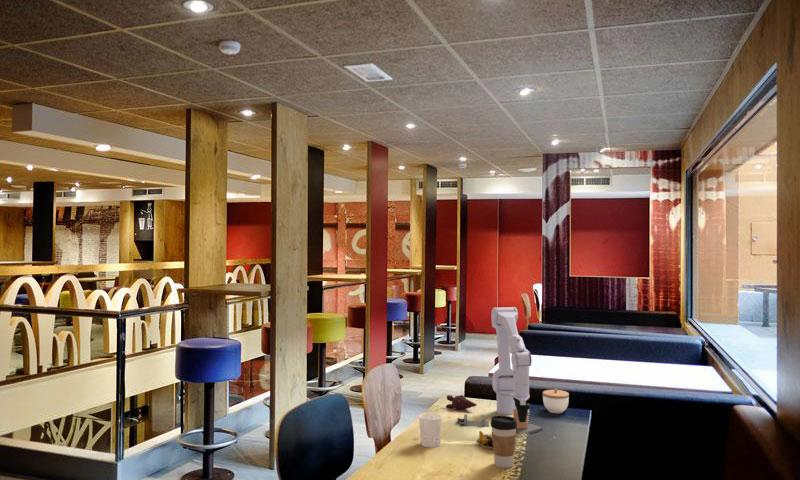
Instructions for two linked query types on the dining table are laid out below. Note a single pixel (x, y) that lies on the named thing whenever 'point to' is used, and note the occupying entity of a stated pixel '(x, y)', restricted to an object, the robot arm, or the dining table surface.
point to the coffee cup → (503, 440)
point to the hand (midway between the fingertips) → (521, 419)
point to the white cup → (430, 429)
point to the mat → (529, 429)
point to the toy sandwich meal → (485, 441)
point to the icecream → (459, 402)
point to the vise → (473, 422)
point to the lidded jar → (555, 400)
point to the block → (519, 424)
